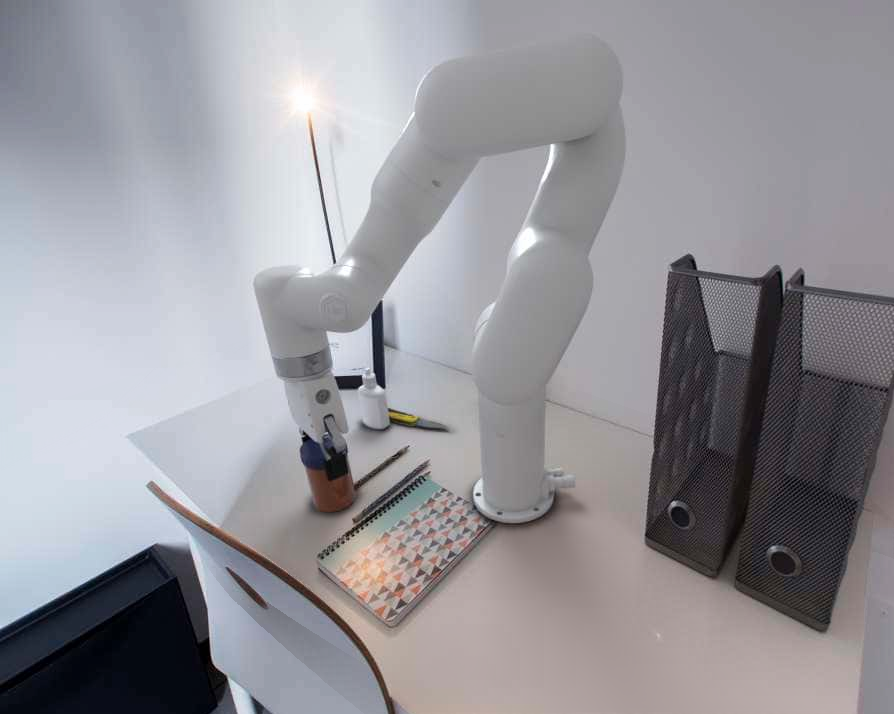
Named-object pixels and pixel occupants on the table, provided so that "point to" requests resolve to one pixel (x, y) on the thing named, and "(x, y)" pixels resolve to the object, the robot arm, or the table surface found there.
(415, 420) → the utility knife
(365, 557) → the table surface
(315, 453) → the jar lid
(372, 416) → the eye dropper bottle
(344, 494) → the jar
